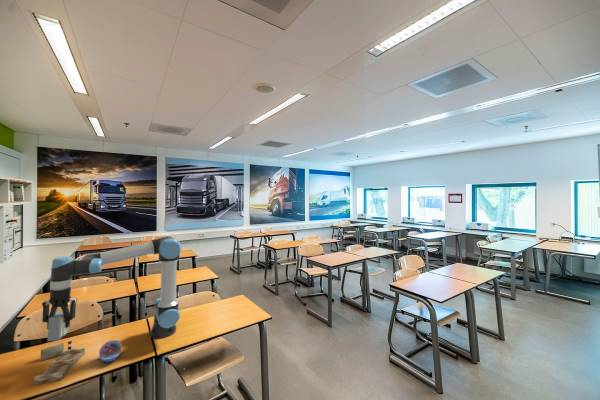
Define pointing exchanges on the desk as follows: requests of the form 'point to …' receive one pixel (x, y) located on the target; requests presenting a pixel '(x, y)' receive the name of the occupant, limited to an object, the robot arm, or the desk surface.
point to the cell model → (110, 350)
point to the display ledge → (60, 366)
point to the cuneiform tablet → (53, 351)
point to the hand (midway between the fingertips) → (58, 334)
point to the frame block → (56, 327)
